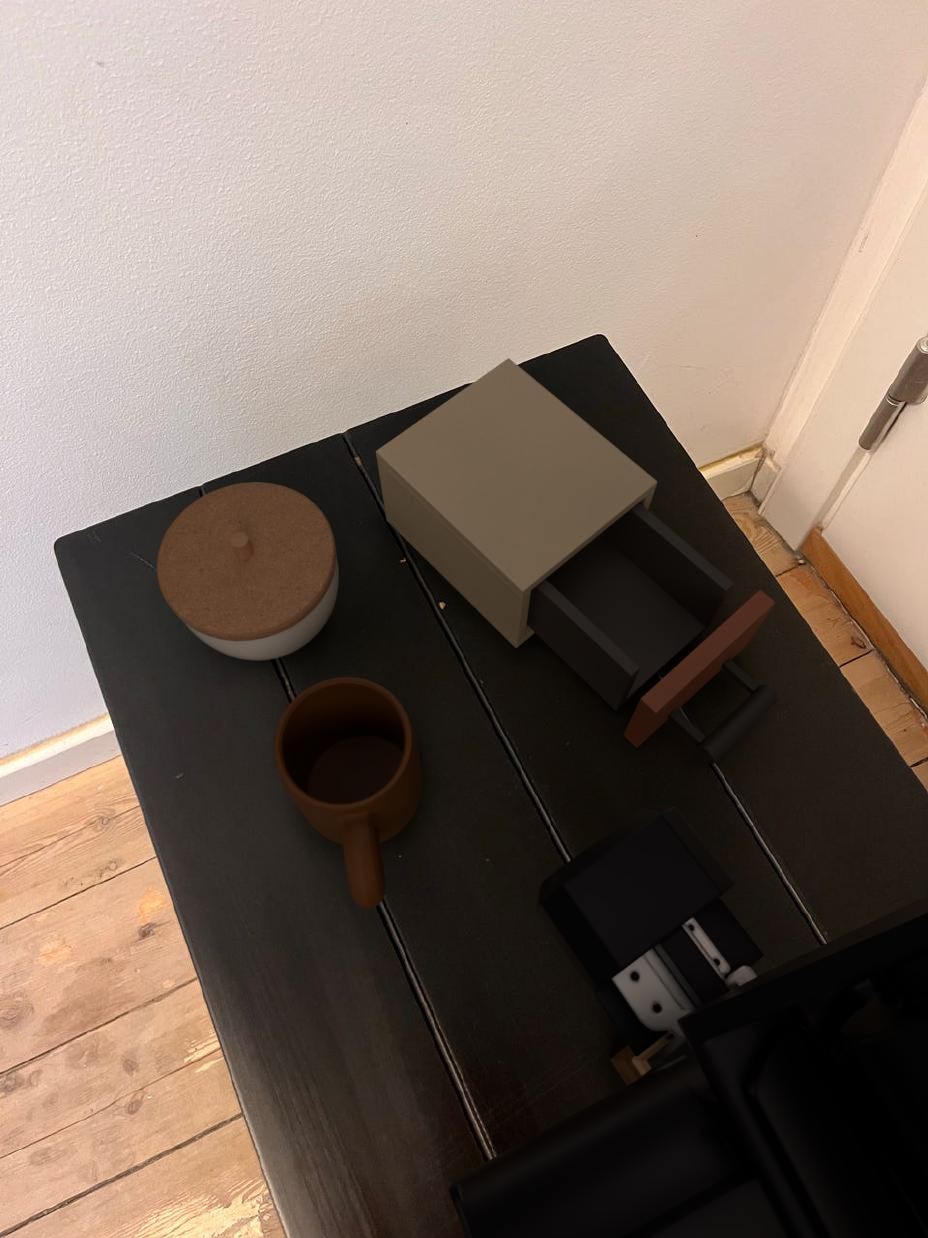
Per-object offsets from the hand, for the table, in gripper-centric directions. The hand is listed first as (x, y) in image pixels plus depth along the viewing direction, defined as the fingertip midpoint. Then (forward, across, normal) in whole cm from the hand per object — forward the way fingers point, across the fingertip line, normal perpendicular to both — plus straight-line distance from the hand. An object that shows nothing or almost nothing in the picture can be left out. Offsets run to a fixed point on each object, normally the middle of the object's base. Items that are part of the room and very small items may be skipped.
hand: (707, 1075), depth 36 cm
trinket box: (+12, -36, -4) cm, 38 cm away
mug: (+12, -20, -6) cm, 24 cm away
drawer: (+11, -19, +15) cm, 27 cm away
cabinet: (+12, -32, +13) cm, 37 cm away
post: (+12, 0, 0) cm, 12 cm away
